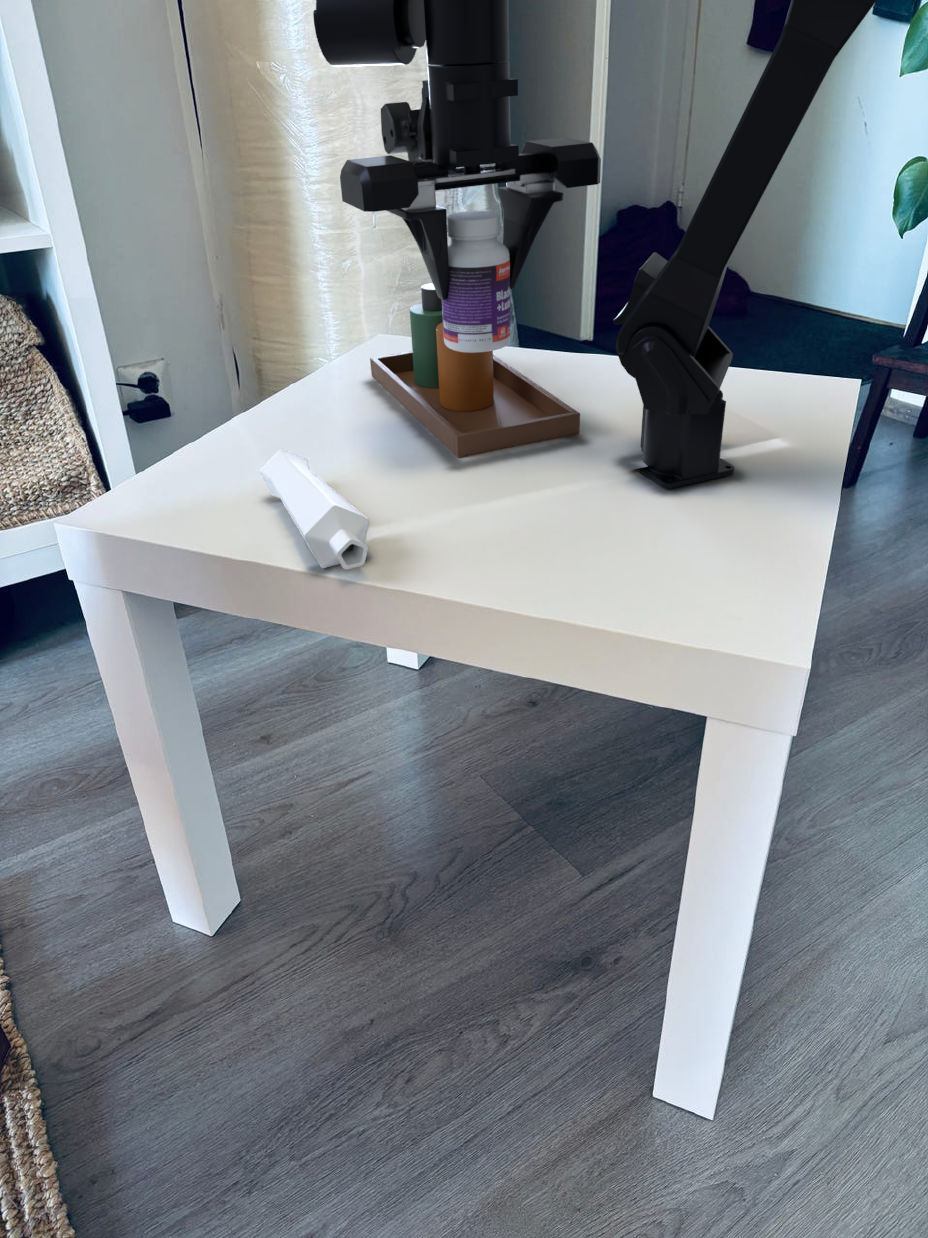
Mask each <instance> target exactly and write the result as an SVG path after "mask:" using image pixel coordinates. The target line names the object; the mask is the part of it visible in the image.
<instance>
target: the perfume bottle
mask: <svg viewBox="0 0 928 1238" xmlns="http://www.w3.org/2000/svg"><path fill="white" fill-rule="evenodd" d="M259 475H260V476H261V479H262V480H263V482H264V483H265V485H266V488H267V489H268V491H269V493H270V494H271V495H272V496H273V497H275V498H278V499H280V501H281V503H282V504H283V505H284V508H285V509H286V512H287V513H288V514H289V516H290V517H291V519H292V521H293V523H294V524H295V526H296V527H297V530H298V531H299V533H300V534H301V536H302V538H303V539H304V541H305V543H306V545H307V546H308V548H309V550H310V551H311V553H312V555H313V556H314V558H315V560H316V562H318V565H319V567H320V568H322V569H326V568H330V567H334V566H338V565H340V566H341V568H342V569H343V570H351V569H355V568H359V567H362V566H363V565H365V563H366V558H367V554H368V550H369V547H368V544H366V541H367V535H368V531H369V526H370V519H369V518H367V516H366V515H365V514H363V513H362V512H361V511H360V510H358V508H356V507H355V506H353V505H352V504H351V503H350V502H349V501H348V500H346V499H345V498H344V497H343V496H342V495H341V494H340V493H338V492H337V491H336V490H334V488H332V487H331V486H330V485H329V484H327V482H325V481H324V480H323V479H322V478H321V477H319V476H318V475H317V474H316V473H314V472H313V471H312V470H311V468H310V464H309V460H308V459H307V458H306V457H303V456H301V455H299V454H297V453H294V452H292V451H289V450H287V449H285V448H280V449H279V448H278V450H277V451H276V452H275V453H274V454H273V455H272V456H271V457H270V458H269V459H268V460H267V462H265V463H264V465H262V467H261V468H260V469H259Z"/></svg>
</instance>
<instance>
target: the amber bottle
mask: <svg viewBox="0 0 928 1238" xmlns="http://www.w3.org/2000/svg"><path fill="white" fill-rule="evenodd" d="M436 337H437V355H438V374H439V392H440V404H441V406H443V407H444V408H446V409H449V410H454V411H475V410H481V409H484V408H487V407H489V406H490V405H492V404H493V402H494V384H493V355H494V350H493V351H488V352H475V353H470V352H459V351H455V350H452V349H450V348H448V347H447V346H446V345H445V343H444V334H443V323H440V324H439V325H437V327H436Z"/></svg>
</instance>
